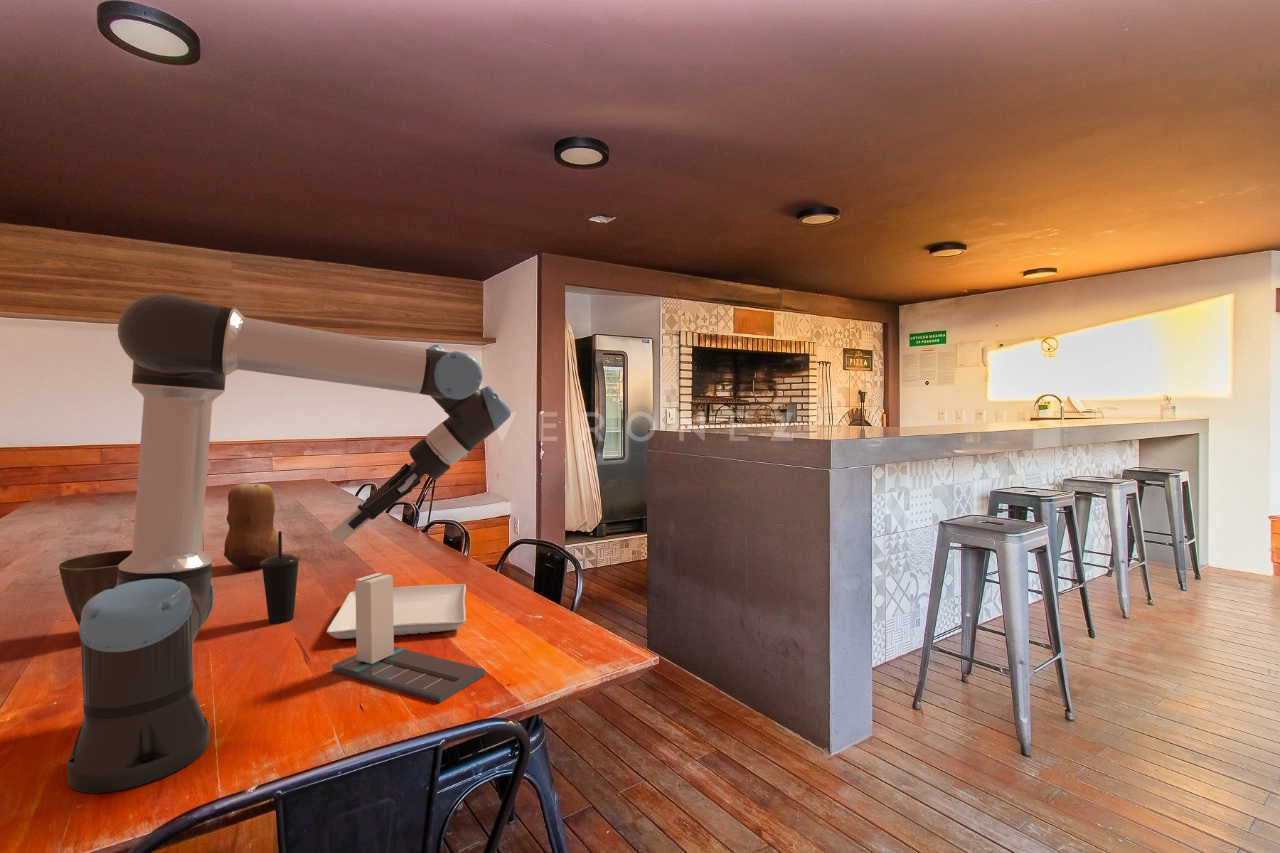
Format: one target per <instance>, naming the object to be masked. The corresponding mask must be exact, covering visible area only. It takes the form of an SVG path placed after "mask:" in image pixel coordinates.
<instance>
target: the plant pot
mask: <svg viewBox="0 0 1280 853" xmlns="http://www.w3.org/2000/svg"><path fill="white" fill-rule="evenodd" d="M132 552H133V549H132V550H130V549H129V550H127V549H126V550H115V551H114V550H113V551H106V552H98V553H92V554H86V555H81V556H77V557H73V558H70V559H66V560H65V561H62V562H60V563H59V564H58V569H59V574H60V578H61V582H62V587H63V591H64V594H65V595H66V596H65V598H66V599H67V602H68V604H69V607H70V609H71V613H72V614H73V616H74V618H75V621H76V623H77V625H78V626H79V625H80V622H81V613H82V609H83V607H84V606H85V604H86V603H87V602H88V601H89V600H90V599H91V598H92V597H94V596H95V595H97V594H99V593H100V592H102V591H104V590H107V589H114V587H115V586H117V578H118V566H119V564H120V563H121V562H122V561H123V560H125V559H126V558H127V557H129V556H130V555H131V554H132Z"/></svg>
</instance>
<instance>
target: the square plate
mask: <svg viewBox="0 0 1280 853" xmlns="http://www.w3.org/2000/svg"><path fill="white" fill-rule="evenodd" d="M466 591H467V585H466V584H465V583H457V584H456V583H455V584H431V585H430V584H426V585H412V586H411V585H410V586H399V587H393V625H394V635H399V636H407V634H410V635H418V633H421V634H431V633H430V632H433V633H437V632H447V631H448V632H449V631H454V630H457V629H459V628H460V627H462V626H463V625H464V624H466V621H467V619H466V618H467V616H466V614H467V613H466V603H465V602H466V601H465V600H466ZM326 634H328V635H330V636H331V637H332V638H335V639H339V640H341V639H342V640H344V639H345V640H347V639H356V590H354V591H350V592H349V593H348V594H347V596H346V598H345V599H344V602H343V603H342V605H341V606H340V608H339V610H338V611H337V613H336V615H335V616H334V618H333V619H332V621H331V623H330V624H329V626H328V627H327V630H326Z"/></svg>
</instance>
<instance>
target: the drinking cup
mask: <svg viewBox="0 0 1280 853" xmlns="http://www.w3.org/2000/svg"><path fill="white" fill-rule="evenodd" d="M282 534H283V532H282V530H281V531H280V530H279V531H278V532H277V535H278V550H279V554H276V555H273V556H270V557H268V558H266V559H264V560H262V561H261V562H260V564H261V565H262V568H261V570H262V578H263V584H264V585H263V586H264V593H265V600H266V601H265V602H266V609H267V610H266V611H267V617H268V623H269V622H270V623H269V624H273V623H277V624H283V622H284V623H288V622H290V621H292V620H293V619H294V618H295V616H294V615H295V607H296V597H297V596H296V595H297V594H296V593H297V585H298V584H297V582H298V571H299V562H300V561H301V557H300V556H297V555H293V554H292V553H291V554H290V553H283V536H282Z"/></svg>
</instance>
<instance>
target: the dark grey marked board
mask: <svg viewBox="0 0 1280 853" xmlns="http://www.w3.org/2000/svg"><path fill="white" fill-rule="evenodd" d="M331 671H332V672H333V673H336V674H341V675H344V676H346V677H350V678H354V679H358V680H360V681H364V682H368V683H371V684H375V685H377V686H382V687H385V688H388V689H392V690H394V691H395V690H396V691H398V692H403V693H406V694H408V695H412V696H415V697H420V698H422V699H425V700H429V701H432V702H437V703H440V704H441V703H442V702H444V701H445V700H447V699H449V698H450V697H452V696H454V695H455V694H457V693H458V692H460V691H462V690H464V689H465V688H467V687H469V686H470V685H473V684H474V683H475V682H476V680H477V681H478V680H480V679H481V678H480V677H482V676H483V675H485V674H486V671H485V668H482V667H478V666H473V665H469V664H466V663H461V662H458V661H453V660H449V659H446V658H442V657H437V656H435V655H434V656H433V655H429V654H425V653H422V652H418V651H413V650H409V649H407V648H403V647H398V646H394V654H392V655H390V656H388V657H386V658H384V659H382V660H379V661H377V662H375V663H373V664H370V663H366V662H363V661H359V660H357V655H356V654H353V655H352V656H349V657H347V658H345V659H343V660H341V661H338V662H336V663H333V664H332V665H331ZM483 677H484V676H483ZM483 677H482V678H483ZM479 678H480V679H479Z"/></svg>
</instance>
